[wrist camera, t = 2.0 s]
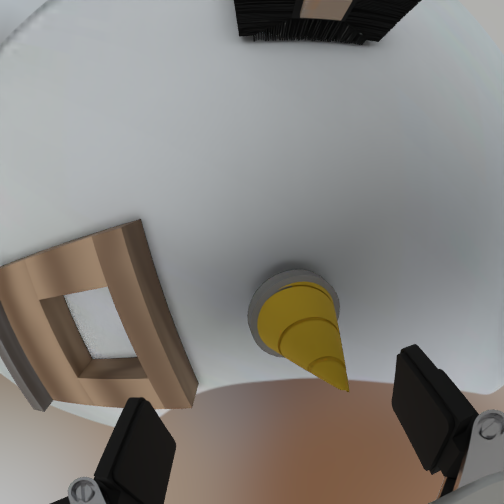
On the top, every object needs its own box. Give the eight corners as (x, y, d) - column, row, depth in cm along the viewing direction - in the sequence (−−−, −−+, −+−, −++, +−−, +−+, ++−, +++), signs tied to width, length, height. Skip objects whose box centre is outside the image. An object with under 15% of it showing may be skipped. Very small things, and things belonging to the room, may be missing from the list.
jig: (140, 219, 18) (104, 234, 13) (198, 383, 21) (186, 426, 17) (1, 266, 19) (-32, 282, 14) (55, 382, 23) (33, 409, 18)
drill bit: (240, 255, 18) (291, 347, 8) (319, 254, 19) (417, 324, 9) (239, 329, 19) (276, 443, 10) (310, 323, 20) (381, 416, 11)
